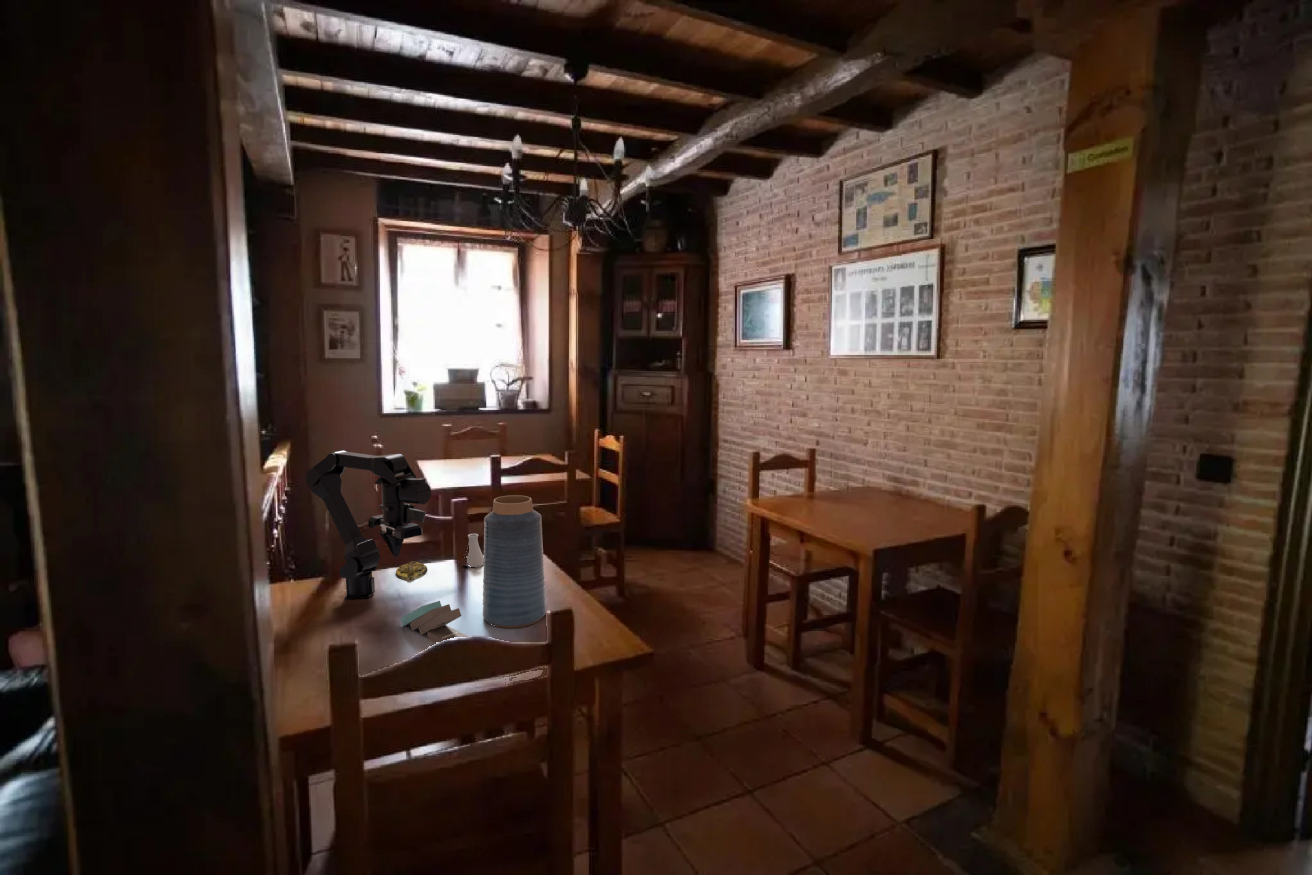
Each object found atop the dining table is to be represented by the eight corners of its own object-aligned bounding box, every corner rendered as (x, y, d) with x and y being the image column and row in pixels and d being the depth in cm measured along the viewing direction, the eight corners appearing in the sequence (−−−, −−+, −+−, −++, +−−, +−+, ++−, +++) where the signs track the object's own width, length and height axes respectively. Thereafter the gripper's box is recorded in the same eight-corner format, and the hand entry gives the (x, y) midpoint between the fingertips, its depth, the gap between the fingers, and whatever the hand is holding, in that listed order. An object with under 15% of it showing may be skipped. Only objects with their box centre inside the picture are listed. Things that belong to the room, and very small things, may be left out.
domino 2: (418, 627, 161) (440, 614, 153) (436, 620, 165) (458, 607, 157) (421, 635, 160) (442, 622, 153) (439, 628, 164) (461, 616, 157)
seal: (396, 570, 211) (396, 585, 197) (394, 556, 210) (393, 570, 196) (426, 564, 214) (428, 578, 200) (424, 550, 213) (426, 564, 199)
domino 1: (409, 622, 163) (430, 609, 156) (427, 616, 167) (449, 603, 160) (412, 630, 163) (433, 618, 156) (430, 624, 167) (451, 611, 159)
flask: (489, 562, 215) (489, 533, 214) (476, 569, 208) (476, 539, 207) (471, 560, 217) (470, 530, 216) (457, 566, 211) (456, 536, 209)
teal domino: (400, 618, 166) (421, 606, 159) (418, 612, 170) (439, 600, 162) (403, 626, 166) (423, 614, 158) (421, 620, 169) (442, 608, 162)
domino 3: (427, 631, 158) (455, 645, 151) (445, 624, 162) (473, 638, 154) (427, 639, 159) (455, 654, 151) (446, 632, 162) (474, 647, 155)
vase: (479, 608, 177) (476, 494, 173) (539, 601, 183) (538, 490, 179) (486, 633, 162) (483, 509, 158) (551, 624, 168) (550, 504, 164)
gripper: (439, 501, 178) (441, 556, 180) (403, 491, 190) (406, 543, 192) (400, 508, 169) (403, 566, 171) (366, 497, 181) (368, 551, 183)
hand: (396, 556), depth 180 cm, fingers closed
